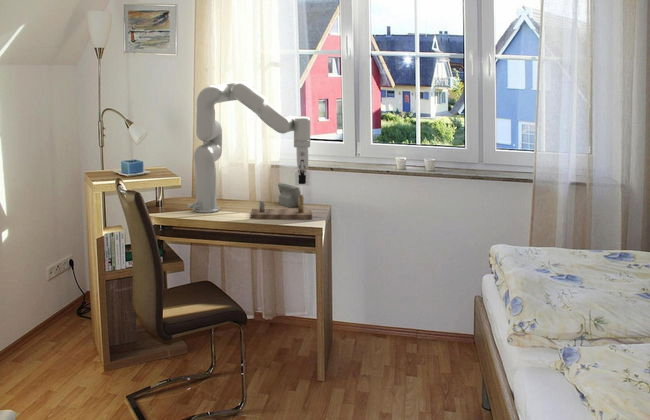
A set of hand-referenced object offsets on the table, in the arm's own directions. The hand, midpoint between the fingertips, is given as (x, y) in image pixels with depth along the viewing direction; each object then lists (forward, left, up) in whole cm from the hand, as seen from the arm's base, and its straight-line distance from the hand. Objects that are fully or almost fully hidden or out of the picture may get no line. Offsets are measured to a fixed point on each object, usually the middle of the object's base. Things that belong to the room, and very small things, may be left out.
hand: (302, 182), depth 346 cm
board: (-7, +6, -16) cm, 19 cm away
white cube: (0, 0, -1) cm, 1 cm away
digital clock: (+12, +23, -17) cm, 31 cm away
